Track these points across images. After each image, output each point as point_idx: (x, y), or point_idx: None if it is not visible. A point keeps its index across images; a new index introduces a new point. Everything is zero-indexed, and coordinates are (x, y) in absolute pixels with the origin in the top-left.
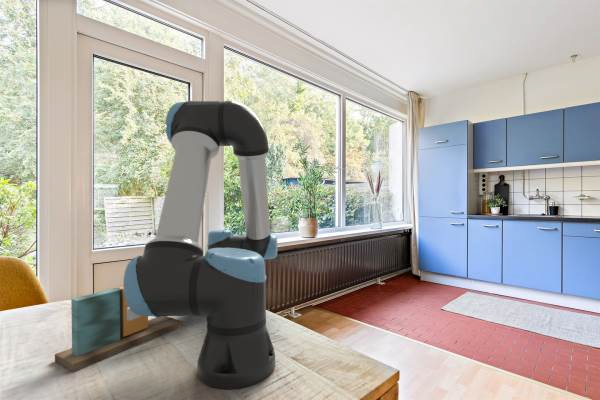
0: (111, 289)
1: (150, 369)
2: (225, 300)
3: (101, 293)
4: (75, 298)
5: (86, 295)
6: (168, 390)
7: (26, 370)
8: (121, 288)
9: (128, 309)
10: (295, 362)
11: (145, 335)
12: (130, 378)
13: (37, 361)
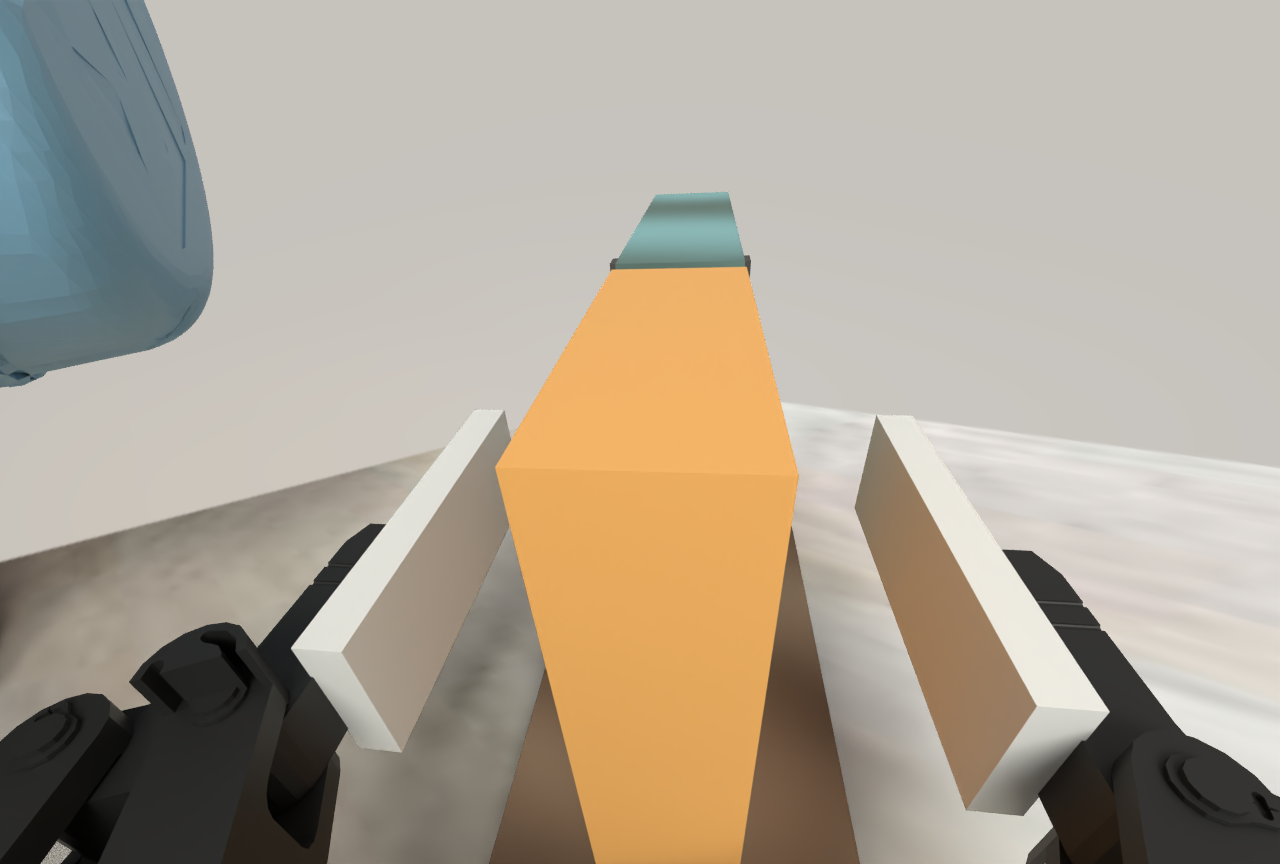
0: (730, 247)
1: (289, 589)
2: None
3: (675, 223)
4: (718, 195)
5: (728, 206)
6: (148, 536)
7: (787, 429)
8: (662, 270)
9: (476, 416)
10: None
11: (515, 773)
12: (353, 524)
13: (841, 456)
